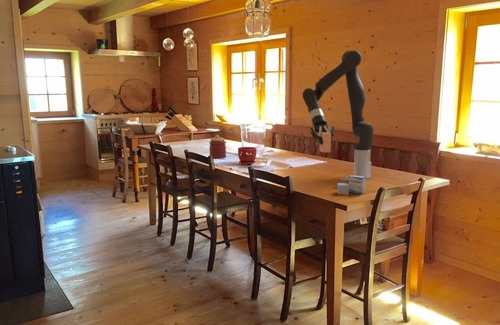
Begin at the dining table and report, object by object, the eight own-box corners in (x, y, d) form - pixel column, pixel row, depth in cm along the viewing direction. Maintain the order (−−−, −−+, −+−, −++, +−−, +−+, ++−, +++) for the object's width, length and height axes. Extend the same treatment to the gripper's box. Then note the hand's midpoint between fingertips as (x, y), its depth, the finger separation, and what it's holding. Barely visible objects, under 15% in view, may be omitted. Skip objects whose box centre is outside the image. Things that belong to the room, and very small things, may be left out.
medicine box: (347, 192, 225) (348, 176, 223) (351, 190, 228) (351, 174, 227) (362, 194, 220) (363, 177, 219) (365, 192, 224) (366, 176, 222)
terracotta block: (327, 150, 232) (327, 132, 230) (330, 152, 227) (331, 133, 225) (319, 151, 230) (319, 132, 229) (322, 152, 226) (323, 133, 224)
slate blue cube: (346, 192, 225) (346, 183, 224) (348, 194, 220) (348, 185, 219) (337, 192, 225) (337, 183, 224) (338, 194, 220) (339, 185, 219)
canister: (208, 156, 338) (207, 134, 335) (224, 155, 342) (223, 133, 339) (211, 159, 326) (211, 136, 323) (228, 158, 330) (227, 135, 326)
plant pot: (256, 165, 299) (256, 148, 296) (237, 165, 299) (237, 148, 297) (256, 162, 311) (256, 146, 309) (238, 162, 312) (238, 146, 310)
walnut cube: (346, 185, 239) (347, 177, 238) (352, 187, 235) (352, 178, 234) (339, 186, 237) (339, 177, 236) (345, 188, 233) (345, 179, 232)
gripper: (307, 114, 231) (316, 139, 221) (332, 113, 234) (341, 138, 225) (303, 123, 237) (312, 148, 227) (327, 122, 240) (336, 147, 231)
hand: (326, 143), depth 226 cm, fingers closed on terracotta block, 4 cm apart
